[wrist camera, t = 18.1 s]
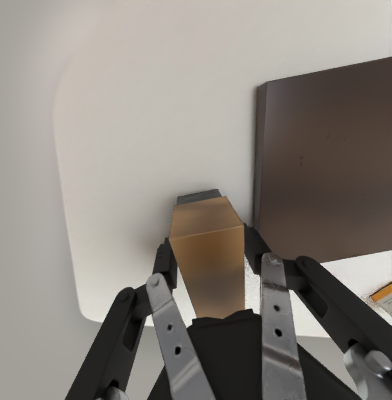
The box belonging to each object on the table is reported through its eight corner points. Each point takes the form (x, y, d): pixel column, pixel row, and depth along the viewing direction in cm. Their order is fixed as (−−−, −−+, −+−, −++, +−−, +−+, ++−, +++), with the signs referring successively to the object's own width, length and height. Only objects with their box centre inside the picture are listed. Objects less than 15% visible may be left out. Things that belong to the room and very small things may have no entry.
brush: (194, 265, 17) (198, 323, 12) (174, 194, 12) (168, 239, 7) (227, 259, 17) (245, 314, 12) (219, 185, 12) (244, 225, 7)
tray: (256, 86, 9) (266, 81, 8) (507, 36, 9) (551, 24, 8) (252, 266, 17) (256, 275, 16) (379, 242, 17) (392, 250, 16)
